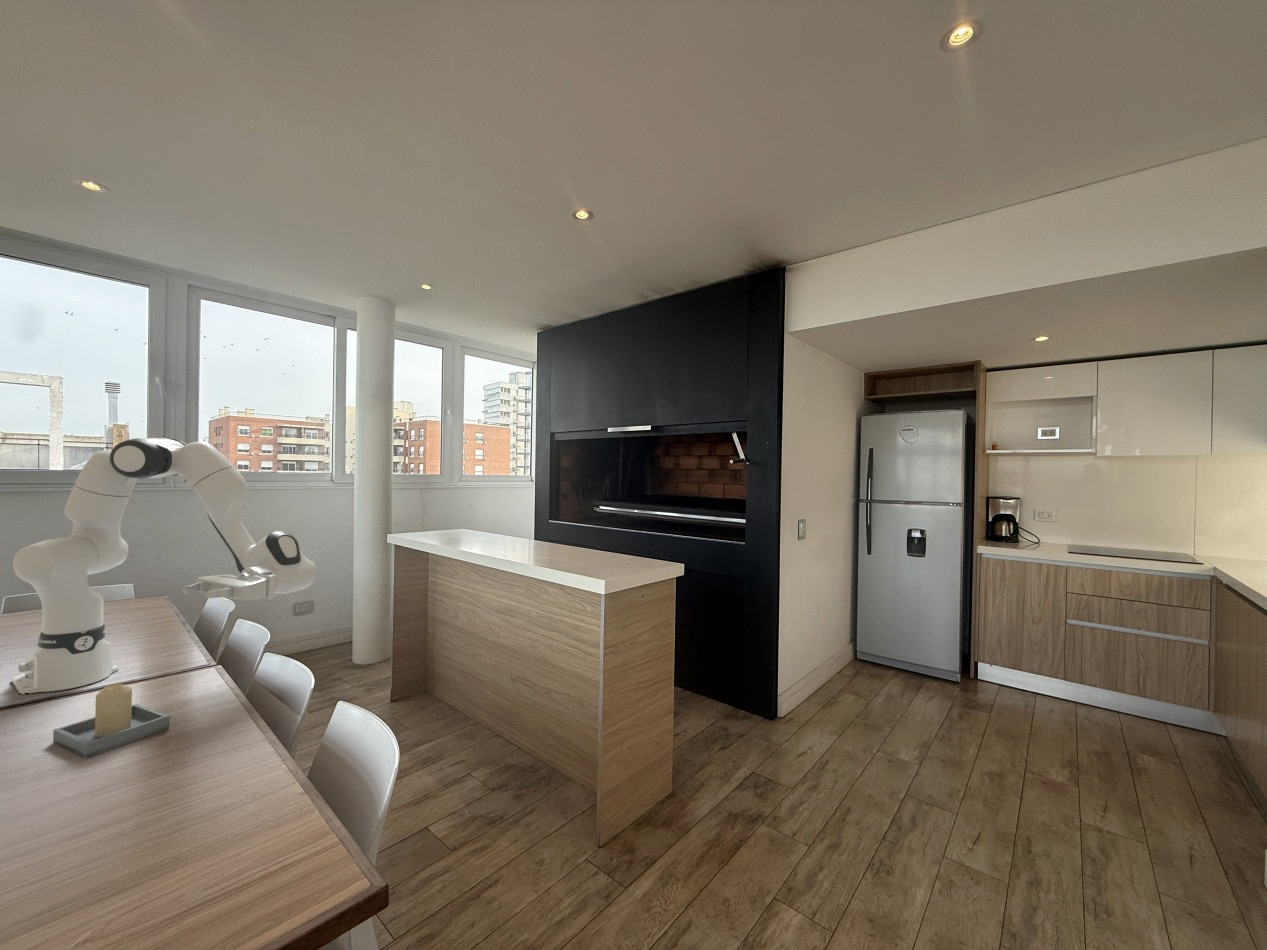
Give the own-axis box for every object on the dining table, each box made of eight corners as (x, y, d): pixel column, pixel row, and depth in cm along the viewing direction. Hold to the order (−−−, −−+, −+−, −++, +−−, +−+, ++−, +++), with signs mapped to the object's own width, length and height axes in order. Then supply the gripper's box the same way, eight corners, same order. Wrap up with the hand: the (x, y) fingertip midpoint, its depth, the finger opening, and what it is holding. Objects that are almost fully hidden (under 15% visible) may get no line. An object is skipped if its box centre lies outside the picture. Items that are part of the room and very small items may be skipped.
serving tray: (53, 743, 108) (53, 729, 108) (136, 715, 120) (136, 703, 120) (86, 758, 102) (86, 744, 102) (169, 728, 115) (169, 715, 115)
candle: (137, 728, 113) (138, 682, 113) (104, 740, 108) (105, 692, 108) (121, 723, 115) (122, 678, 115) (88, 735, 110) (89, 688, 110)
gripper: (232, 567, 145) (172, 575, 132) (279, 575, 137) (220, 584, 124) (231, 589, 145) (171, 599, 132) (278, 599, 137) (219, 610, 124)
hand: (195, 592), depth 128 cm, fingers open, 8 cm apart
